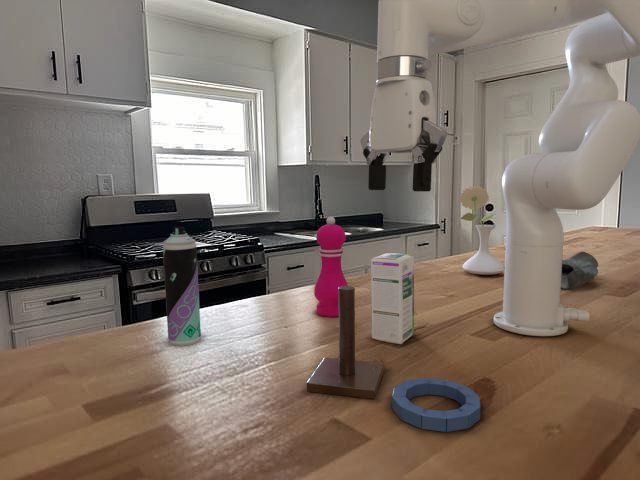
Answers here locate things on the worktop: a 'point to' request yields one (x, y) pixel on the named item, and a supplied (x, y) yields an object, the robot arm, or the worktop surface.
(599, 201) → the robot arm
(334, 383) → the stand
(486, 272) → the flower in vase
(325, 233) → the pepper mill
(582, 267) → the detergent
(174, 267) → the spray can
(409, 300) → the syrup box
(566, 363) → the worktop surface
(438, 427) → the ring
